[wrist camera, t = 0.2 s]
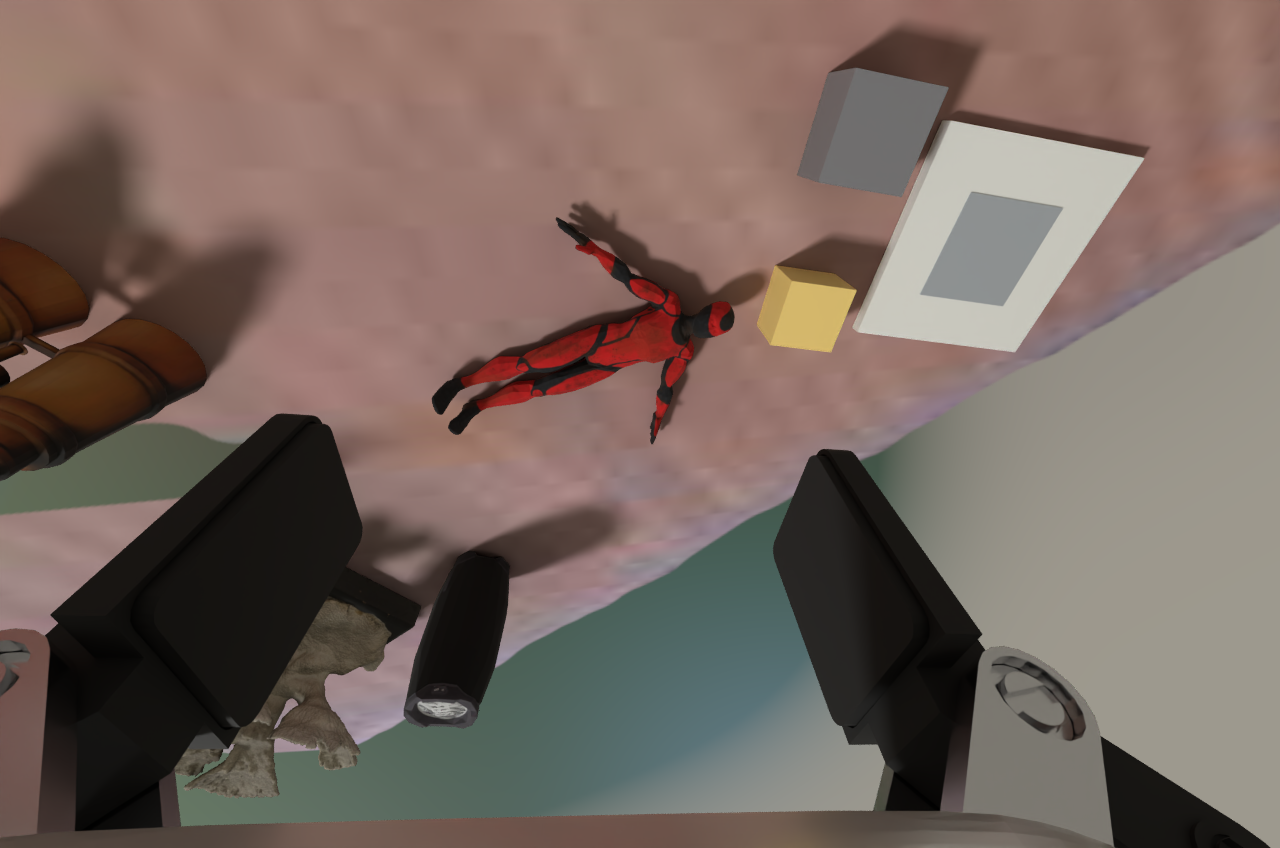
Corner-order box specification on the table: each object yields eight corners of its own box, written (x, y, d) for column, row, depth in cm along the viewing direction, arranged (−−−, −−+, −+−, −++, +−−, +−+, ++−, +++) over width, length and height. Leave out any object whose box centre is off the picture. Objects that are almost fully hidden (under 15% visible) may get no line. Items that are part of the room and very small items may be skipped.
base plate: (942, 120, 37) (952, 120, 36) (1131, 156, 39) (1145, 158, 38) (852, 327, 47) (857, 332, 46) (1006, 347, 49) (1015, 352, 48)
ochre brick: (774, 264, 43) (791, 280, 39) (834, 273, 44) (856, 290, 40) (756, 324, 46) (770, 345, 42) (811, 331, 47) (830, 352, 43)
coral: (441, 615, 72) (384, 780, 54) (362, 661, 78) (289, 822, 60) (287, 532, 60) (150, 708, 42) (209, 594, 66) (62, 770, 48)
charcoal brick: (827, 72, 35) (856, 67, 31) (910, 90, 36) (948, 87, 32) (796, 174, 39) (818, 182, 35) (871, 188, 40) (901, 197, 36)
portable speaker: (525, 577, 67) (497, 724, 51) (468, 591, 68) (424, 739, 52) (497, 540, 62) (457, 690, 46) (437, 557, 64) (377, 707, 48)
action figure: (355, 304, 38) (703, 170, 32) (391, 278, 43) (694, 160, 37) (505, 507, 52) (766, 440, 46) (518, 468, 57) (754, 405, 51)
